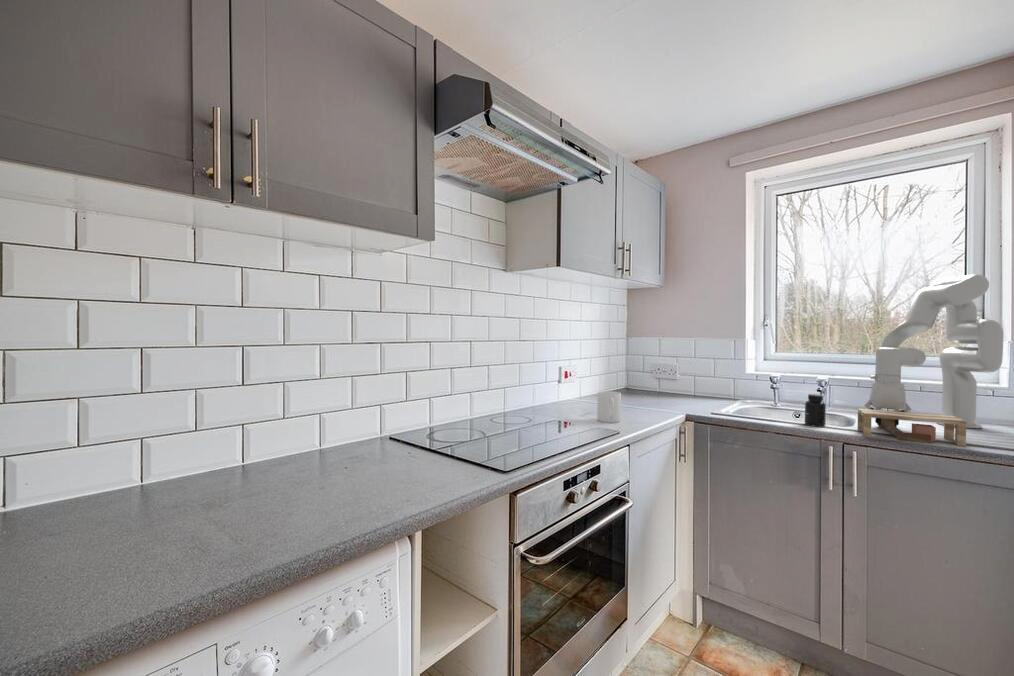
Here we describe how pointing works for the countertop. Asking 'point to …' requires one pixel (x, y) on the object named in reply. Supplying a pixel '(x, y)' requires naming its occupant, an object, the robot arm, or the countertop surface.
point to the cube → (924, 430)
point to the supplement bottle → (815, 410)
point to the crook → (890, 426)
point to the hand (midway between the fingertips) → (886, 425)
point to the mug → (609, 407)
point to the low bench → (948, 420)
